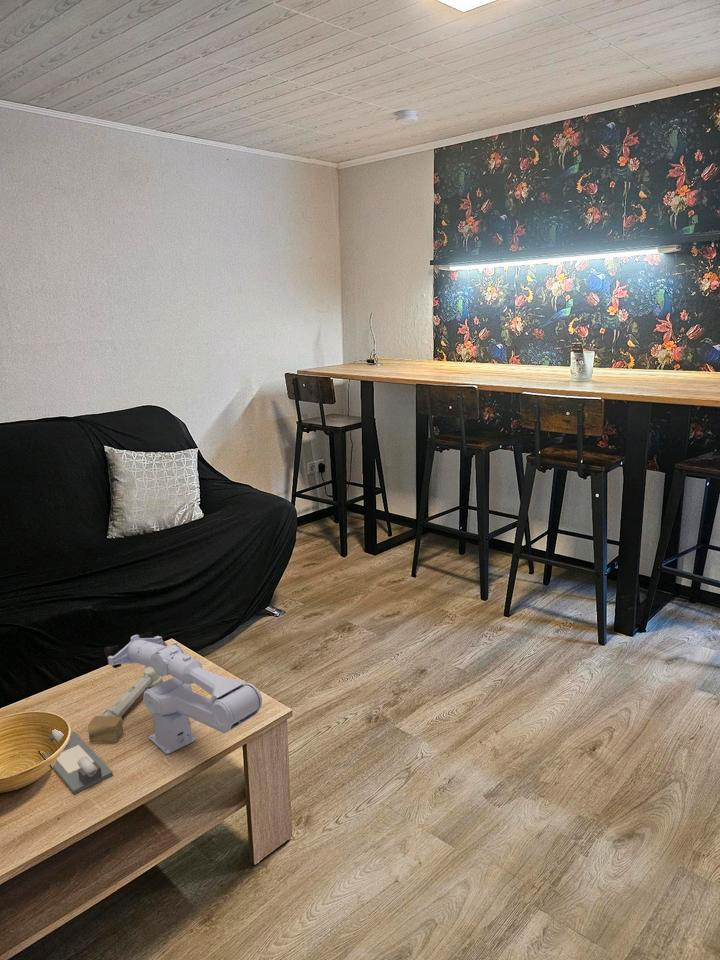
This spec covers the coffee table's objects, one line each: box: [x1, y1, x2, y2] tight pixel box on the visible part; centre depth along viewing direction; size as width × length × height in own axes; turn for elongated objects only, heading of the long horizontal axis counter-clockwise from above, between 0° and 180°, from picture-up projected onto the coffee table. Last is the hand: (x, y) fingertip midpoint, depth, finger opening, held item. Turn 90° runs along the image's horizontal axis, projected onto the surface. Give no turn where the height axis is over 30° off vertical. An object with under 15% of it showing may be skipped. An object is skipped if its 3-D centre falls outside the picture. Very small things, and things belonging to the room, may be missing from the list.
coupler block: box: [87, 715, 124, 744], centre depth 170 cm, size 7×4×5 cm, turn 85°
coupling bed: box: [42, 729, 114, 795], centre depth 160 cm, size 22×9×5 cm, turn 44°
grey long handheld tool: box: [102, 666, 163, 717], centre depth 184 cm, size 5×7×25 cm
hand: (119, 645), depth 177 cm, fingers open, 7 cm apart
